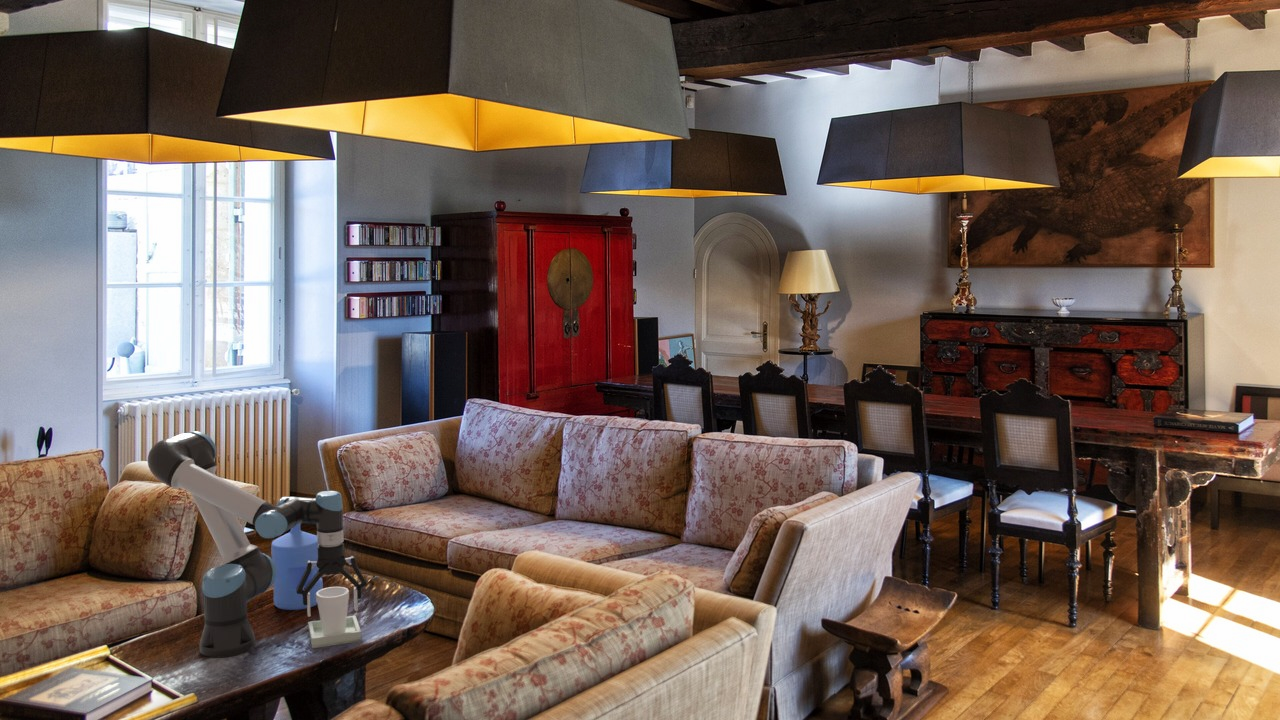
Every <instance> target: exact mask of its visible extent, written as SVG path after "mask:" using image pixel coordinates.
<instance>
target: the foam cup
mask: <svg viewBox="0 0 1280 720" xmlns="http://www.w3.org/2000/svg"><path fill="white" fill-rule="evenodd" d="M349 600H350V590H349V588H347V587H344V586H330V587H325V588H324V587H323V589H321V590H319V591H318V592H317V593H316V601H317V603H318V605H317V608H318V613H319V620H321V625H322V630H323V635H324V636H325V635H332V634H339V633H345V631H346V620H347V617H348V610H349V609H348V608H349Z"/></svg>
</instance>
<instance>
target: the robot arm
mask: <svg viewBox="0 0 1280 720" xmlns="http://www.w3.org/2000/svg"><path fill="white" fill-rule="evenodd" d="M217 450H218V449H217V447H216V444H215V442H214V440H213V439H212V438H211V436H209V435H208V434H206V433H204V432H201V431H195V430H193V431H187V432H186V431H185V432H183V433H180V434H177V435H175V436H172V437H168V438H164V439H161V440H160V441H158V442H156V443H155V444H154V445H153V446H152V447H151V449H150V450H149V452H148V455H147V466H148V468H149V471H150V472H151V474H152V475H153V477H154V478H156V479H158V480H159V482H161V483H163V484H165V485H166V486H168V487H170V488H172V489H175V490H178V489H180V488H181V489H183V490H184V491H186V492H189V493H190V494H191V497H192V499H193V501H194V503H195V505H196V507H197V509H198V511H199V513H200V514H201V516H202V519H203V521H204V522H205V524H206V527H207V529H208V531H209V533H210V535H211V537H212V538H213V541H214V542H215V544H216V547H217V549H218V551H219V553H220V555H221V557H222V558H221V562H220V565H219V566H218V565H217V566H214V567H212V568H211V569H208V570H207V571H206V573H204V575H203V577H202V585H201V591H202V601H203V602H202V603H203V617H204V627H203V629H202V630H203V631H202V633H201V637H200V639H199V640H200V641H199V652H200V654H201V655H203V656H205V657H209V658H227V657H234V656H237V655H240V654H241V655H242V654H243V653H246V652H247V651H248V652H249V651H250V650H252V648H254V647H255V645H256V638H255V633H254V631H253V629H252V626H251V624H250V622H249V620H248V607H247V606H248V605H247V603H249V602H251V601H252V600H253V599H256V598H257V597H258V596H261V595H262V594H265V592H266V591H268V590H269V589H270V588H271V587H272V586H273V583H274V581H275V578H276V566H275V563H274V561H273V560H272V557H270V556H269V555H267V554H265V553H264V552H261V551H260V549H259V546H257V545H255V544H251V543H250V540H249V539H248V537H247V535H246V533H245V531H244V529H243V527H242V525H241V523H240V520H239V519H241V520H242V521H244V522H247V523H249V524H250V525H253V526H254V528H255V531H256V532H257V534H258V535H259V536H260V537H261V538H263V539H273V538H276V537H280V536H282V535H283V534H284V533H286V532H287V531H289V530H291V528H293V527H294V526H296V525H298V524H310V525H311V524H314V525H315V524H316V536H317V543H318V544H319V545H318V546H317V547H318V560H317V561H310V560H308V561H307V567H306V570H305V572H304V574H303V576H302V578H301V580H300V582H299V584H298V586H297V588H296V592H297V594H302V595H303V604H304V605H307V608H306V614H307V617H308V618H309V617H311V607H310V593H309V591H310V590H311V589H312V588H313V586H314V585H315V584H316V583H317V581H318V580H319V579H320V578H322V577H323V576H325V575H326V576H330V575H338V574H341V575H342V576H343V577H345V578H346V580H348V581H349V582H350V583H351V584H352V585H353V608H354V611H355V612H357V611H358V609H359V607H358V606H359V604H358V601H359V600H360V599H361V598H362V588H364V587H367V586H368V583H367V581H366V579H365V577H364V575H363V574H362V572H361V570H360V569H359V567H358V565H357V563H356V559H355V556H354V555H350V557H346V558H345V544H344V543H343V542H344V521H343V519H344V515H343V514H344V505H343V496H342V494H341V492H339V491H336V490H325V491H320V492H317V493H316V495H315V497H304V496H303V497H302V496H293V495H292V496H282V497H280V498H279V500H278V501H277V503H276V505H274V504H273V503H270V502H268V501H266V500H265V499H262V498H260V497H258V496H257V495H254V494H253V493H250V492H249V491H247V490H245V489H244V488H241V487H239V486H237V485H235V484H233V483H231V482H230V481H227V480H225V479H224V478H222V477H220V476H217V474H216V472H217V469H218V464H217V463H216V461H215V460H216V457H217V455H216V454H217V452H218V451H217ZM346 563H347V564H348V565H349V566H351V567H352V570H353V571H354V573H355V574H356V576H357V577H358V579H359V581H360V582H359V581H358V580H356V578H355V577H354V576H353V575H352V574H350V572H349V571H347V569H346V568H345V567H344V566H345V565H346ZM315 566H317V567H318V571H317V573H316V574H315V575H314V577H313V578H312V579H311V580H310V582H309V583H308V584H307V585H306V587H305V588H304V589H303V587H304V585H305V583H306V581H307V579H308V576H309V574H310V572H311V569H313V568H314V567H315Z"/></svg>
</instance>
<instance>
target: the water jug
mask: <svg viewBox="0 0 1280 720" xmlns="http://www.w3.org/2000/svg"><path fill="white" fill-rule="evenodd" d="M301 524H302V523H300V524H298V525H296V526H294V527H293V528H291V529H290V531H289V532H288V533H285V534H284V535H283V534H282V535H280V536H278V537H277V538H275V539H273V540H272V542H271V549H270V551H271V555H270V556H271V559H272V560H273V561H274V563H275V566H276V578H275V581H274V583H273V584H272V586H273V604H274V606H275V607H277V608H278V609H280V610H286V611H299V610H305V609H306V610H307V605H304V604H303V595H302V594H297V592H296V588H297V586H298V584H299V582H300V580H301V578H302V576H303V574H304V572H305V570H306V567H307V561H308V560H310V561H317V560H318V547H317V546H318V545H319V544H318V543H317V534H316V535H315V534H312V533H309V532H306V531H303V530H301ZM318 570H319V568H318V567H317V566H315V567H314V568H313V569H311V572H310V574H309V576H308V579H307V581H306V583H305V585H304V587H303V589H304V588H305V587H306V585H307V584H308V583H309V582H310V580H311V579H312V578H313V577H314V575H315V574H316V573H317V571H318ZM323 582H324V581H323V578H322V577H321V578H320V579H319V580H318V581H317V583H316V584H315V585H314V586H313V588H312V589H311V590H310V591H309V593H310V608H313V607H315V606H318V603H317V601H316V593H317V592H318V591H319V590H321V589H324V584H323Z"/></svg>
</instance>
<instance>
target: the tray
mask: <svg viewBox="0 0 1280 720" xmlns="http://www.w3.org/2000/svg"><path fill="white" fill-rule="evenodd" d="M307 624H308V626H307V627H308V635H309V639H310V643H311V649H318V648H324V647H330V646H338V645H346V644H351V643H358V642H362V631H361V627H360V625H359V620H358V619H357V616H356V615H347V620H346V631H345V633H339V634H332V635H325V636H324V635H323V630H322V625H321V619H319V620H312V621H308V622H307Z"/></svg>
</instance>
